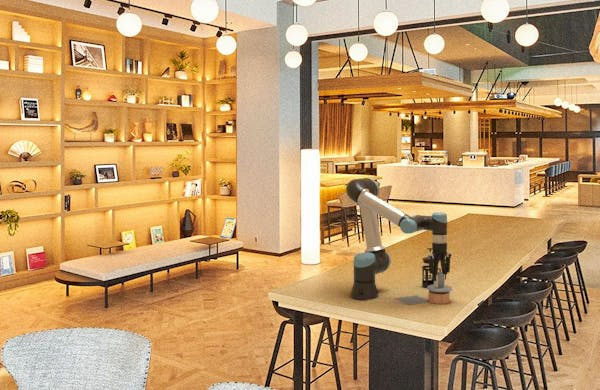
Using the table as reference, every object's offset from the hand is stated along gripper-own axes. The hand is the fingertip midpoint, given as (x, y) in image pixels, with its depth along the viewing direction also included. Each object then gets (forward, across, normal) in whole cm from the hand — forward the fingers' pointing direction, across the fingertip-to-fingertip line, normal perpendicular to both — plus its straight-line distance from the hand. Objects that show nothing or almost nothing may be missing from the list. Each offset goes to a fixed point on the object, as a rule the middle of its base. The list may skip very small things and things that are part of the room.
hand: (439, 286), depth 293 cm
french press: (+8, +13, +27) cm, 31 cm away
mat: (+8, -12, +7) cm, 16 cm away
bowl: (+8, 0, 0) cm, 8 cm away
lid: (+1, 0, 0) cm, 1 cm away
